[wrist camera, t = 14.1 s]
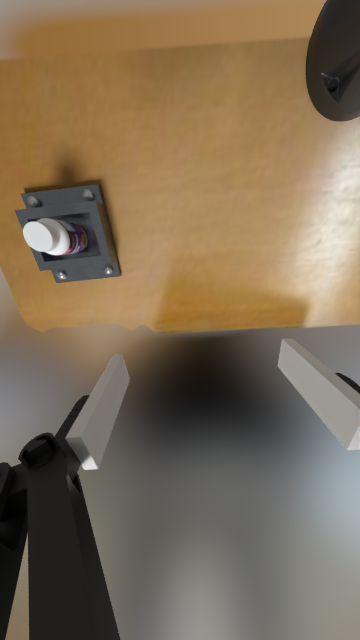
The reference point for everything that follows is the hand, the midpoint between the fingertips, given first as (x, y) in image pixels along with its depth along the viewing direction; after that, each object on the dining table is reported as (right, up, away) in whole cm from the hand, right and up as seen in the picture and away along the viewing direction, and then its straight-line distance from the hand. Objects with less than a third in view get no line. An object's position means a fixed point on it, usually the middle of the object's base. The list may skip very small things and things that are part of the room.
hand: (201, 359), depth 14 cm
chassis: (-22, +20, +20) cm, 36 cm away
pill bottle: (-23, +19, +19) cm, 35 cm away
